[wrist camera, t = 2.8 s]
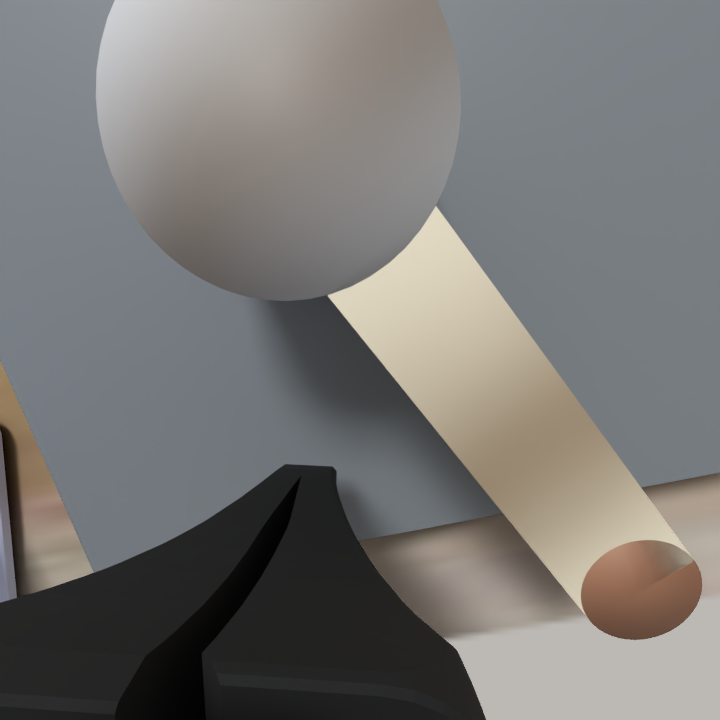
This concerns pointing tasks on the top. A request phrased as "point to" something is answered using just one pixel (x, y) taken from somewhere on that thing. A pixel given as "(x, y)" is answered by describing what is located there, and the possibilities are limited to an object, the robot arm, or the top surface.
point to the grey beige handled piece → (374, 251)
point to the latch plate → (324, 320)
